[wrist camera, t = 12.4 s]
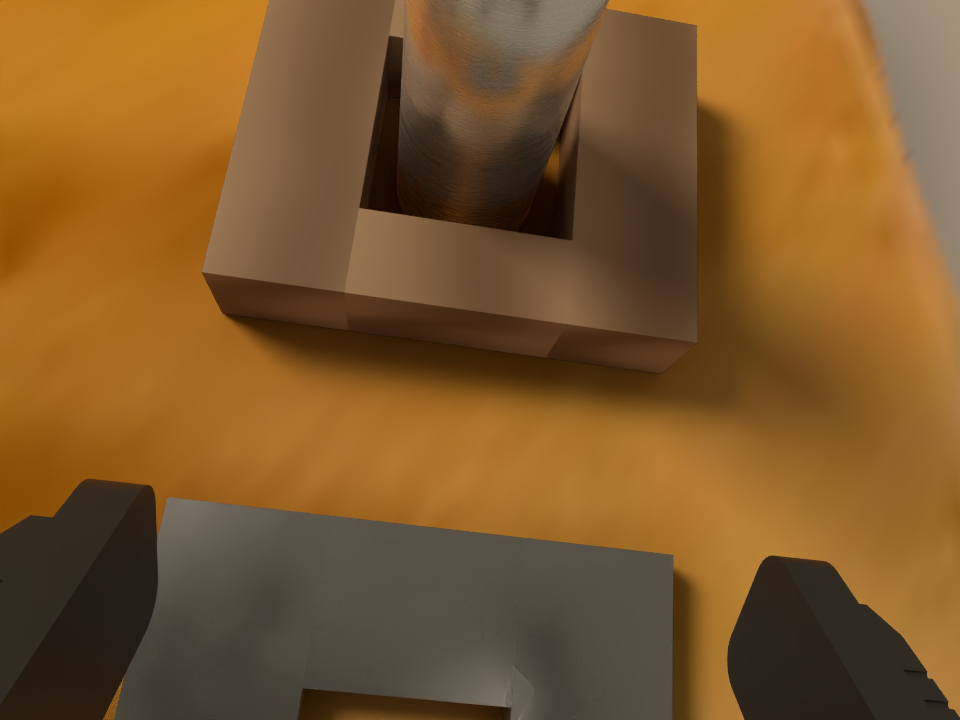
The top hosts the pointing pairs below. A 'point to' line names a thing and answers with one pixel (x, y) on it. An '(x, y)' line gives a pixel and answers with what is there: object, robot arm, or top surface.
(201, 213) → the top surface
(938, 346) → the top surface
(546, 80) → the grey metal cylinder
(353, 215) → the rack
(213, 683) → the socket plate
